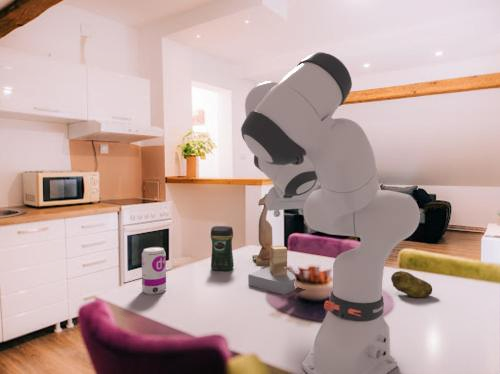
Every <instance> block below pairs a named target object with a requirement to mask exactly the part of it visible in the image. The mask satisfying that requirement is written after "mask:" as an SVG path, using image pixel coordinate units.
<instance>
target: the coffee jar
mask: <svg viewBox="0 0 500 374" xmlns="http://www.w3.org/2000/svg"><path fill="white" fill-rule="evenodd" d="M210 229H211V230H210V236H209V237H210V239H211V258H210V259H211V260H210V269H211V270H212V271H219V272H220V271H221V272H222V271H224V272H225V271H230V270H233V269H234V266H235V265H234V263H235V262H234V256H233V243H232V241H233V237H234V230H233V227H232V226H226V225H214V226H213V227H211V228H210Z"/></svg>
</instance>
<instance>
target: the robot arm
mask: <svg viewBox="0 0 500 374" xmlns="http://www.w3.org/2000/svg"><path fill="white" fill-rule="evenodd" d="M352 86H353V82H352V78H351V74H350V72H349V70H348V68H347V67H346V65H345V64H344V63H343V62H342V60H340V59H339V58H337V57H336V56H334V55H332V54H329V53H326V52H320V51H319V52H314V53H313V54H311V55H308V56H307V57H305V58H304V59H302V60H301V61H300V62H298V64H297V66H296V67H295V68H294V69H292V70H291V71H290V72H288V73H287V74H286V75H285V76H284V77H283V78H282V79H281V80H280V81H279V82H275V81H264V82H262V83H258V84H257V85H255V86H253V88H251V89H250V91H249V92H248V94H247V95H246V97H245V102H244V111H245V116H246V117H245V119H244V121H243V122H242V125H241V127H240V131H241V137H242V139H243V141H244V142H245V144H246V147H247V148H248V149H249V151H250V152H251V153H252V154H253V155H254V156H253V165H254V166H255V167H256V168H257V169H258V170H259V171H261V172H262V173H263V174H264V175H265V176H266V177H267V178H268V179H269V180H270V181H271V182H272V183H273V184H272V185H273V186H272V187H271V188H270V189H269V190H268V192H267V193H266V194H267V196H266V198H265V205H266V207H267V209H268V211H273V216H274V217H275V218H276V217H280V216H281V212H280V211H284V210H285V211H286V210H297V209H298V210H297V211H298V215H300V216H301V215H303V218H304V222H305V223H306V224H307V226H308V227H309V229H311V230H313V231H315V232H320V233H324V234H327V235H334V236H347V237H357V238H360V244H359V245H358V246H356V247H354V248H352V249H351V248H350V249H349V250H346V251H343V252H341V253H340V254H338V255H337V256H336V258H334V261H333V264H332V290H331V293H330V296H329V300H325V301H324V304H323V305H324V306H323V309H324V310H326V311H327V313H326V315H325V316H324V319H323V320H322V323H321V324H320V327H319V329H318V331H317V333H316V335H315V338H314V341H313V346H311V349H310V351H309V352H308V354H307V355H306V357H305V358H304V359H303V361H302V363H301V368H302V369H303V370H304V371H305V372H306V374H388V373H390V372H391V371H392V370H394V369H395V368H396V367H397V366H398V361H397V359H396V358H395V357H393V355H391V333H390V330H391V329H390V326H389V325H388V323H387V322H386V320H385V318H384V316H383V314H384V308H385V302H384V296H383V295H382V290H383V289H382V288H383V276H384V269H385V265H386V262H387V259H388V257H389V256H390V254H391V253H392V251H393V250H394V249H395V247H396V246H397V245H399V244H400V243H401V242H403V241H404V240H406V239H408V238H409V237H411V236H412V235H413V234H414V232H416V230H417V228H418V227H419V224H420V221H421V219H420V218H421V213H420V208H419V205H418V203H417V202H416V200H415V198H414V197H413V196H412V195H410V194H407V193H402V192H399V191H395V190H394V191H393V190H387V189H385V190H384V189H379V187H380V185H379V182H380V181H379V176H378V175H379V174H378V171H377V164H376V157H375V154H374V150H373V146H371V145H372V144H371V143H370V140H369V138H368V136H367V134H366V132H365V130H364V129H363V128H362V127H361V125H360V124H359V123H358V122H355V121H354V120H352V119H350V118H349V119H348V118H341V117H339V118H333V117H332V116H333V115H334V113H335V112H336V111H337V109H338V108H339V107H340V106H342V105H343V104H344V102H346V99H347V98H348V96H349V94H350V92H351V90H352V88H353V87H352Z"/></svg>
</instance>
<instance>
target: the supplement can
mask: <svg viewBox="0 0 500 374" xmlns="http://www.w3.org/2000/svg"><path fill="white" fill-rule="evenodd" d="M166 256H167V255H166V251H165V248H164V247H160V246H152V247H147V248H143V251H142V253H141V282H142V283H141V286H142V287H141V289H142V290H141V291H142V292H143V293H144V294H146V295H152V296H153V295H159V294H162V293H163V292H165V291H166V289H167V266H166V265H167V260H166V259H167V257H166Z"/></svg>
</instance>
